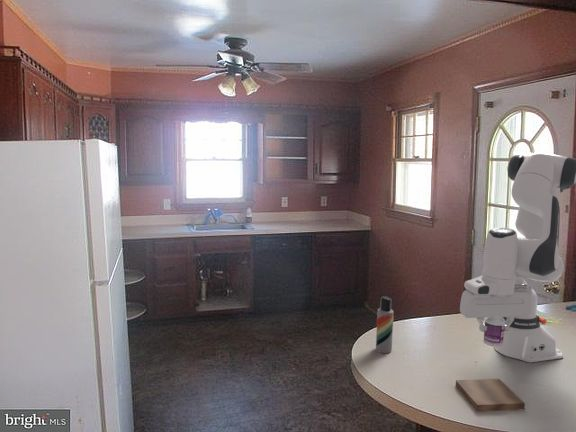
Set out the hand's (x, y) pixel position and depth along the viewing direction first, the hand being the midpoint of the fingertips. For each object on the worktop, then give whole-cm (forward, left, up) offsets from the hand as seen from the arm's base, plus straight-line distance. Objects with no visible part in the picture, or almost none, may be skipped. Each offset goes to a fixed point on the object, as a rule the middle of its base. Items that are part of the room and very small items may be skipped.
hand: (494, 330), depth 139 cm
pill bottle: (0, 0, -4) cm, 4 cm away
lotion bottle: (+22, -34, -21) cm, 46 cm away
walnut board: (0, 0, -21) cm, 21 cm away
